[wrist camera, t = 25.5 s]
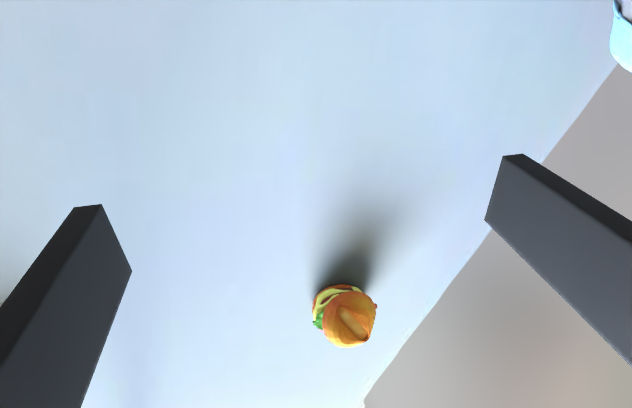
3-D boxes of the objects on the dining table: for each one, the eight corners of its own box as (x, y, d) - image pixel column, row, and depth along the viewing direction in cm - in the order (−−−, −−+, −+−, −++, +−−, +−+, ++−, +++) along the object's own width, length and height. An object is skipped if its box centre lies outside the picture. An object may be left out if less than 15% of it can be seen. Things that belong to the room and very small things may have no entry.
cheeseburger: (298, 318, 61) (312, 360, 52) (318, 266, 59) (335, 299, 50) (349, 325, 65) (369, 365, 55) (369, 276, 62) (394, 309, 53)
